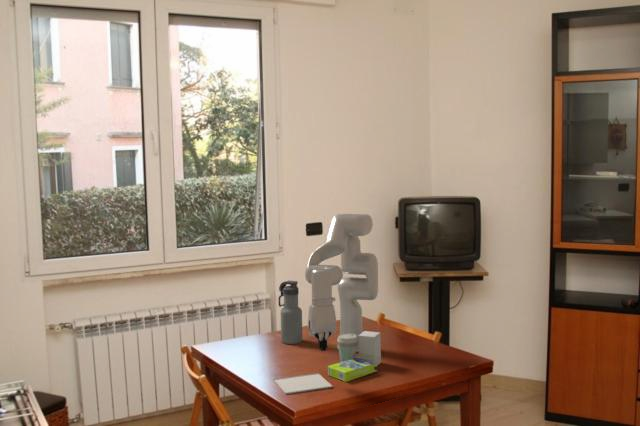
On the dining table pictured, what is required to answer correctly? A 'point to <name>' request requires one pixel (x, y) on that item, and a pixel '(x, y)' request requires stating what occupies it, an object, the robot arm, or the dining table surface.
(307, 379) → the mat
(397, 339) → the dining table surface
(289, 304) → the water bottle
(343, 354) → the coffee cup
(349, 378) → the box
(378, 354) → the supplement box
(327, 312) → the robot arm
